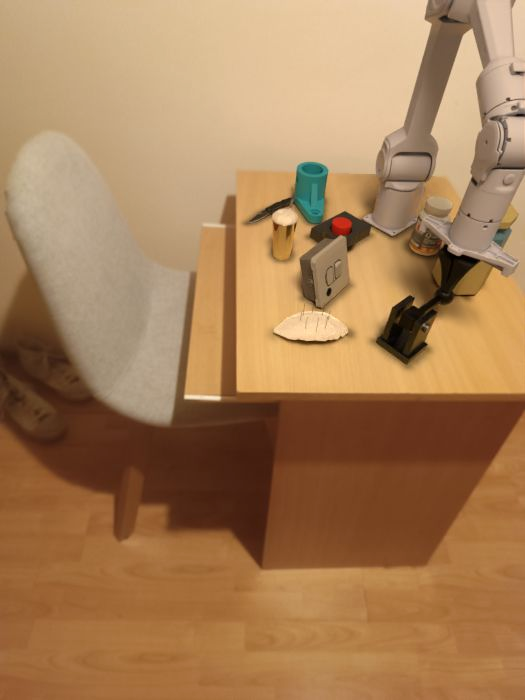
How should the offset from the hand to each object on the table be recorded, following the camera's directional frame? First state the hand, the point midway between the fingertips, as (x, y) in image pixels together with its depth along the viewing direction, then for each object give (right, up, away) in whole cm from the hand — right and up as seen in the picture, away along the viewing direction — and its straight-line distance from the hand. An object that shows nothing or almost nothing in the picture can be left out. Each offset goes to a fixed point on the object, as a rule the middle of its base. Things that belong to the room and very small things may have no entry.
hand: (446, 289), depth 72 cm
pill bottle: (+3, +10, +19) cm, 22 cm away
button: (-14, +13, +15) cm, 24 cm away
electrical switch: (-18, +1, +9) cm, 20 cm away
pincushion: (-21, -7, +2) cm, 22 cm away
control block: (-13, +12, +20) cm, 27 cm away
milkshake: (-25, +9, +16) cm, 31 cm away
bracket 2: (-7, -9, +1) cm, 11 cm away
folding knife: (-26, +19, +24) cm, 40 cm away
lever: (-3, -4, 0) cm, 5 cm away
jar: (+7, +3, +12) cm, 14 cm away
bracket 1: (-18, +21, +27) cm, 39 cm away
